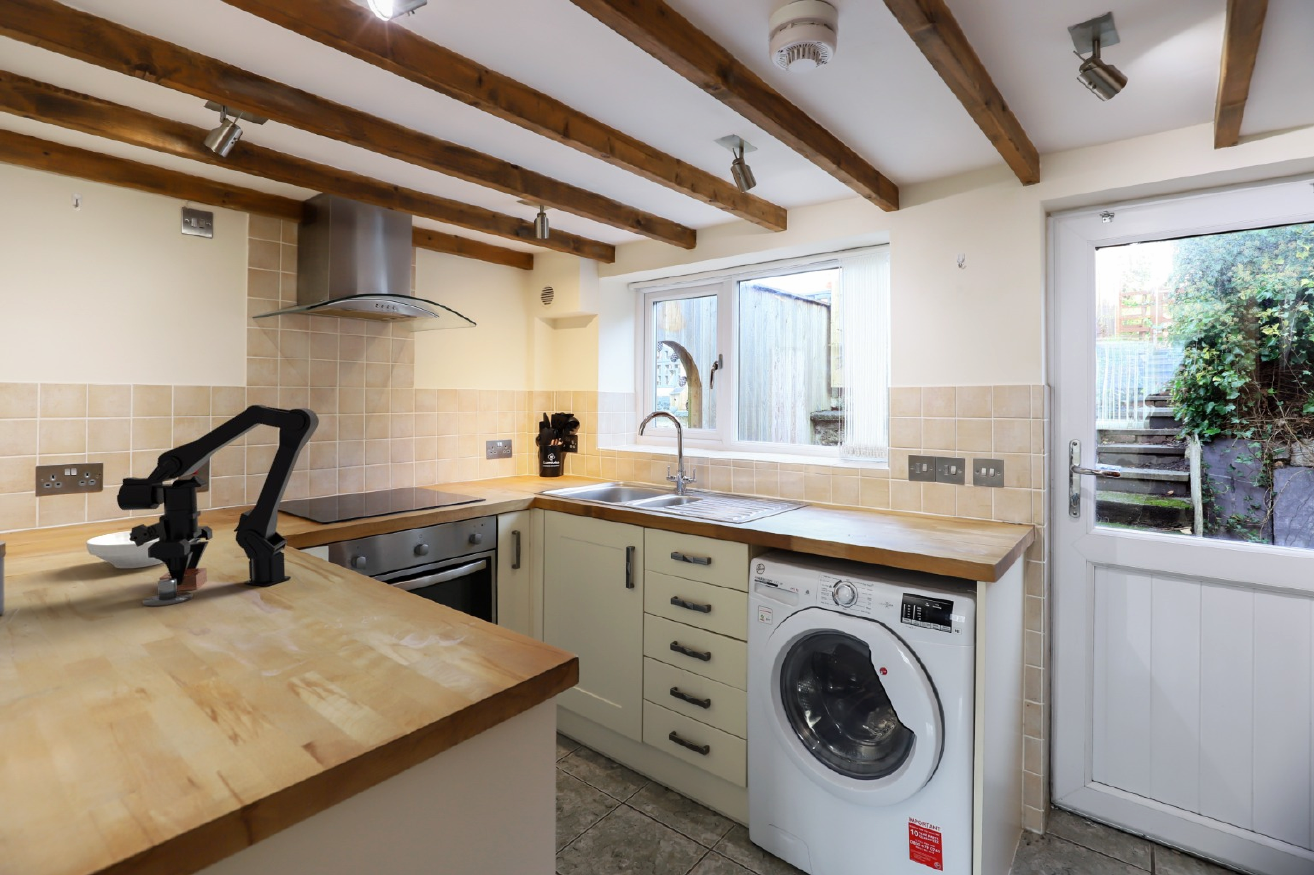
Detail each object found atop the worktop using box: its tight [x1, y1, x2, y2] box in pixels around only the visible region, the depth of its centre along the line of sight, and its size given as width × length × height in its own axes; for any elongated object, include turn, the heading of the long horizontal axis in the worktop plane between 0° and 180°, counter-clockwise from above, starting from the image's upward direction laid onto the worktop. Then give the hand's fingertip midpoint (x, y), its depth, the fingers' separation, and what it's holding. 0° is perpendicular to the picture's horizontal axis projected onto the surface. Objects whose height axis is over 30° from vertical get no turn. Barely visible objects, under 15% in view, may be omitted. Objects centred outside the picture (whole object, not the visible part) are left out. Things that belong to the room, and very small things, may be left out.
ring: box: [158, 567, 208, 592], centre depth 140 cm, size 6×6×3 cm
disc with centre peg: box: [142, 578, 194, 607], centre depth 131 cm, size 8×8×4 cm
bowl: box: [85, 530, 164, 569], centre depth 159 cm, size 20×20×7 cm
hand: (184, 580), depth 140 cm, fingers closed on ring, 6 cm apart
